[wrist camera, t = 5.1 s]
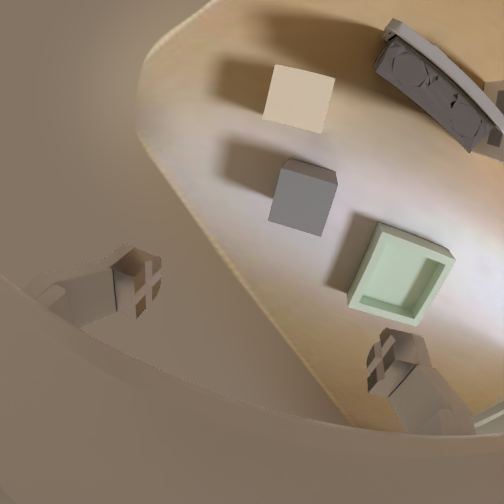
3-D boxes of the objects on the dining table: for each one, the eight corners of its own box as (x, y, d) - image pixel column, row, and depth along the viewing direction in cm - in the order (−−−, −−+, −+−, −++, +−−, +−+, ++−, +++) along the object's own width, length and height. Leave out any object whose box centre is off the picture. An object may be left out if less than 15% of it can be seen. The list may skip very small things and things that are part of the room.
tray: (378, 222, 23) (382, 231, 22) (448, 249, 23) (455, 259, 21) (346, 293, 27) (347, 306, 26) (412, 313, 26) (416, 326, 25)
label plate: (484, 82, 15) (520, 78, 10) (490, 86, 15) (526, 83, 9) (469, 149, 18) (503, 161, 13) (474, 153, 18) (509, 166, 13)
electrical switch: (469, 100, 16) (525, 109, 9) (441, 141, 19) (486, 168, 12) (383, 30, 16) (405, -4, 8) (354, 73, 19) (362, 59, 11)
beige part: (285, 74, 20) (275, 64, 16) (333, 86, 19) (335, 78, 15) (275, 118, 22) (262, 119, 18) (321, 131, 21) (321, 134, 17)
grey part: (289, 158, 23) (281, 168, 19) (335, 171, 23) (337, 184, 18) (278, 201, 25) (267, 220, 21) (322, 214, 25) (320, 236, 20)
